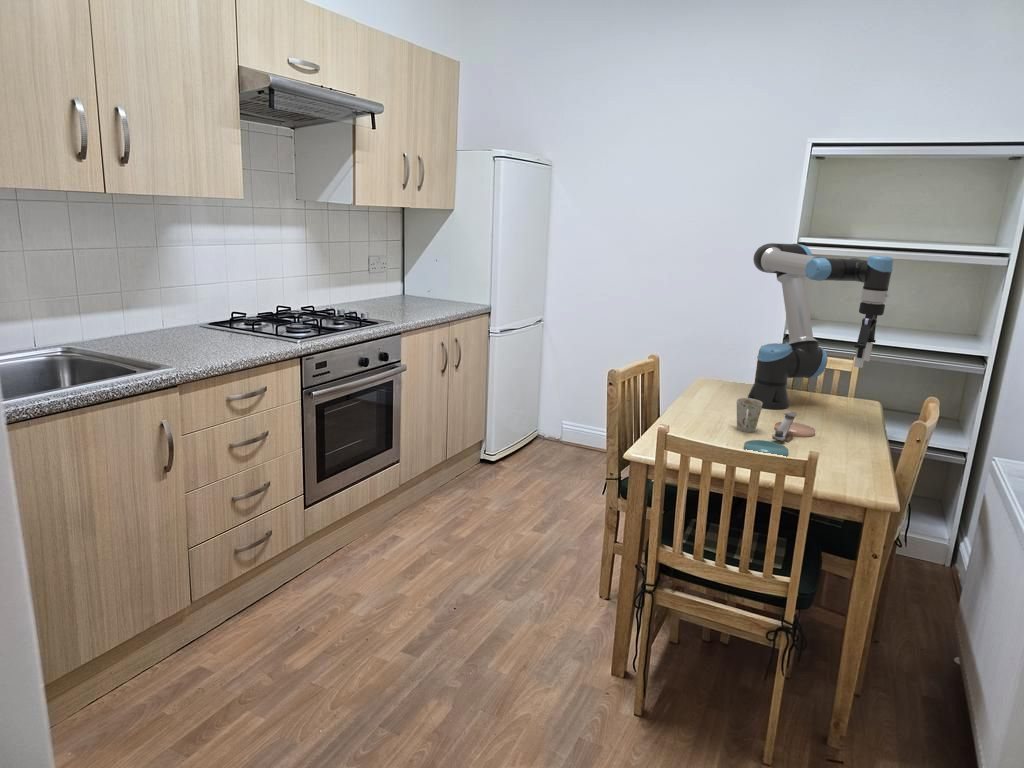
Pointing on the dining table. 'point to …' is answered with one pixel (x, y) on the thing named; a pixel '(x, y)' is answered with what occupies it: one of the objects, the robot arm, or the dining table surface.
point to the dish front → (766, 447)
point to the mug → (748, 414)
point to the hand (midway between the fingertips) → (861, 363)
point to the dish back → (798, 430)
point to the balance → (785, 427)
